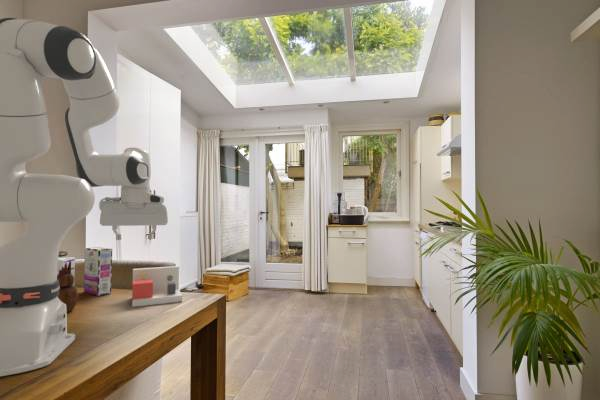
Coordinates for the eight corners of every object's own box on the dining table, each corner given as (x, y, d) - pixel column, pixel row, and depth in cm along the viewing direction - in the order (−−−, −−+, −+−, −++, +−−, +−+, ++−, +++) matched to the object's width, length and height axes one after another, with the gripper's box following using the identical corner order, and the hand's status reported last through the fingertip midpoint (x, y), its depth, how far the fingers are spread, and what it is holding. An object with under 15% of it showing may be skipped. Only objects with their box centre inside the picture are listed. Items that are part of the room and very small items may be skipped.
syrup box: (75, 299, 116) (76, 256, 117) (61, 304, 110) (62, 259, 111) (59, 298, 117) (60, 256, 117) (45, 303, 111) (46, 258, 111)
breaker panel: (182, 301, 114) (182, 271, 115) (132, 306, 108) (132, 275, 108) (177, 293, 125) (178, 265, 125) (132, 297, 119) (132, 268, 119)
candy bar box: (112, 293, 124) (113, 248, 124) (97, 296, 120) (98, 249, 120) (97, 289, 130) (98, 246, 131) (83, 291, 126) (84, 247, 127)
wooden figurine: (72, 307, 107) (73, 259, 107) (80, 310, 104) (81, 261, 104) (46, 312, 101) (47, 262, 102) (54, 316, 98) (55, 264, 98)
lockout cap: (151, 293, 117) (152, 279, 117) (152, 297, 112) (152, 282, 112) (132, 295, 115) (132, 280, 115) (132, 299, 109) (132, 284, 109)
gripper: (98, 196, 106) (97, 241, 106) (168, 198, 115) (167, 239, 114) (100, 197, 112) (99, 239, 111) (167, 198, 121) (166, 238, 120)
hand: (134, 239), depth 113 cm, fingers open, 8 cm apart
